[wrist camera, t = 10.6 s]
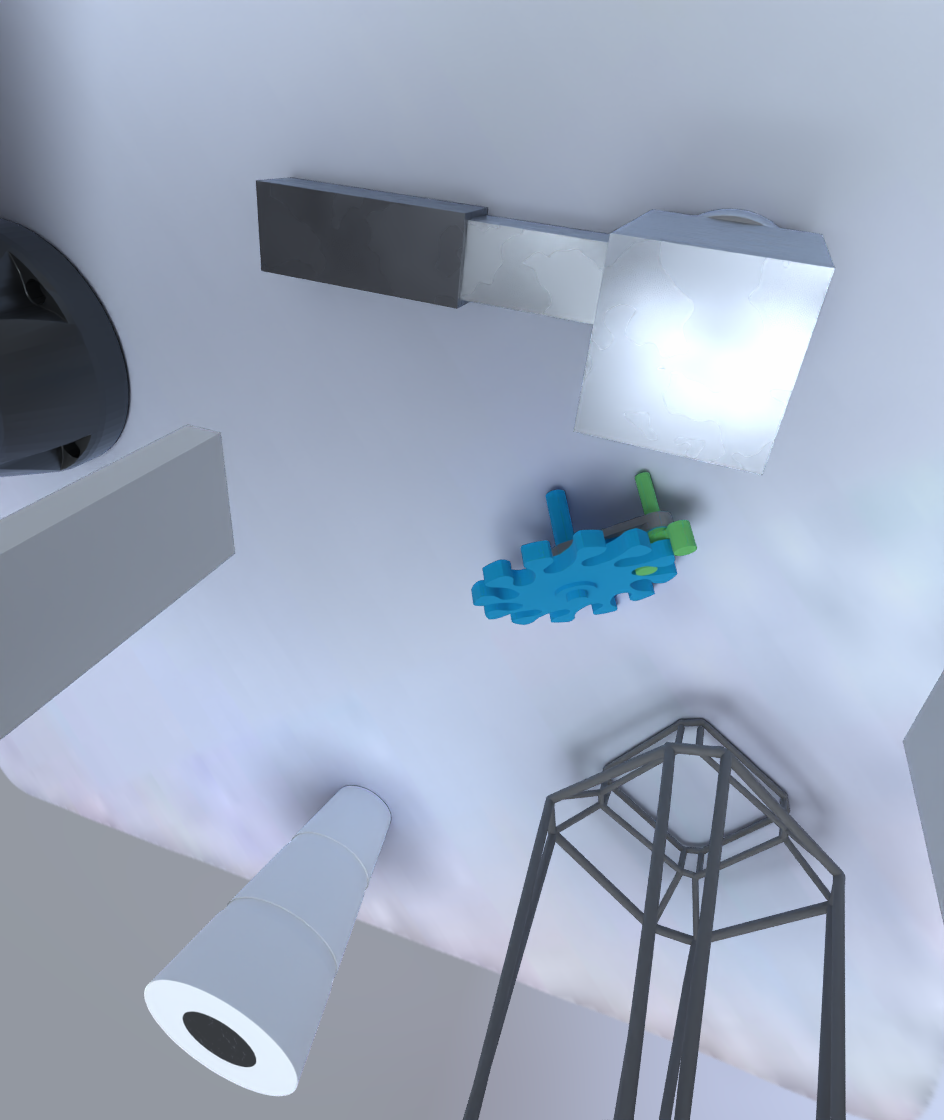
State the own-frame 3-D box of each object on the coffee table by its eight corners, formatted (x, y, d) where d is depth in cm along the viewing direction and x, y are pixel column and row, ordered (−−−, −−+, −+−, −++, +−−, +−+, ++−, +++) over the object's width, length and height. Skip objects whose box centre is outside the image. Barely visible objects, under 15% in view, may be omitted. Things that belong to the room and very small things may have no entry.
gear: (527, 646, 41) (436, 606, 32) (510, 552, 43) (421, 492, 35) (722, 590, 36) (676, 527, 28) (692, 489, 39) (640, 402, 30)
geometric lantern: (895, 831, 40) (1165, 2523, 12) (675, 902, 49) (528, 1940, 21) (705, 638, 38) (482, 2066, 10) (514, 748, 47) (118, 1651, 19)
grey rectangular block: (619, 367, 30) (573, 431, 23) (652, 209, 27) (610, 233, 20) (767, 397, 28) (762, 475, 22) (822, 234, 25) (835, 268, 19)
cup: (392, 755, 52) (241, 993, 38) (445, 859, 56) (326, 1111, 41) (284, 758, 57) (114, 969, 43) (339, 853, 61) (200, 1076, 46)
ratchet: (295, 288, 37) (206, 317, 31) (289, 146, 33) (188, 148, 28) (772, 383, 31) (769, 438, 25) (826, 221, 27) (837, 243, 22)
